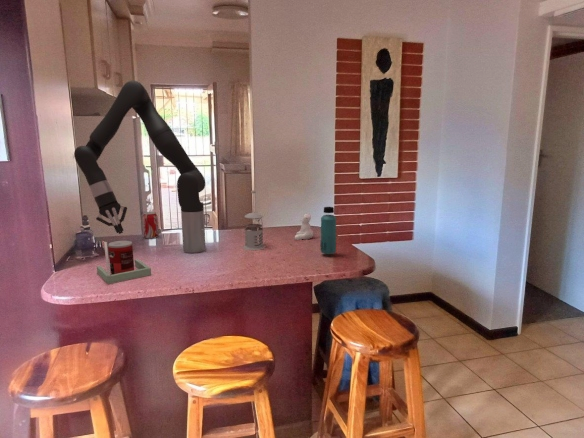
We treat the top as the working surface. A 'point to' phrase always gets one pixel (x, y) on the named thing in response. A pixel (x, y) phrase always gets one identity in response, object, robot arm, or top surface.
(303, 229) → the white figurine
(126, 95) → the robot arm
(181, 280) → the top surface
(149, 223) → the soda can
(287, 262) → the top surface
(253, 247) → the french press
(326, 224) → the beverage bottle
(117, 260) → the canned food
